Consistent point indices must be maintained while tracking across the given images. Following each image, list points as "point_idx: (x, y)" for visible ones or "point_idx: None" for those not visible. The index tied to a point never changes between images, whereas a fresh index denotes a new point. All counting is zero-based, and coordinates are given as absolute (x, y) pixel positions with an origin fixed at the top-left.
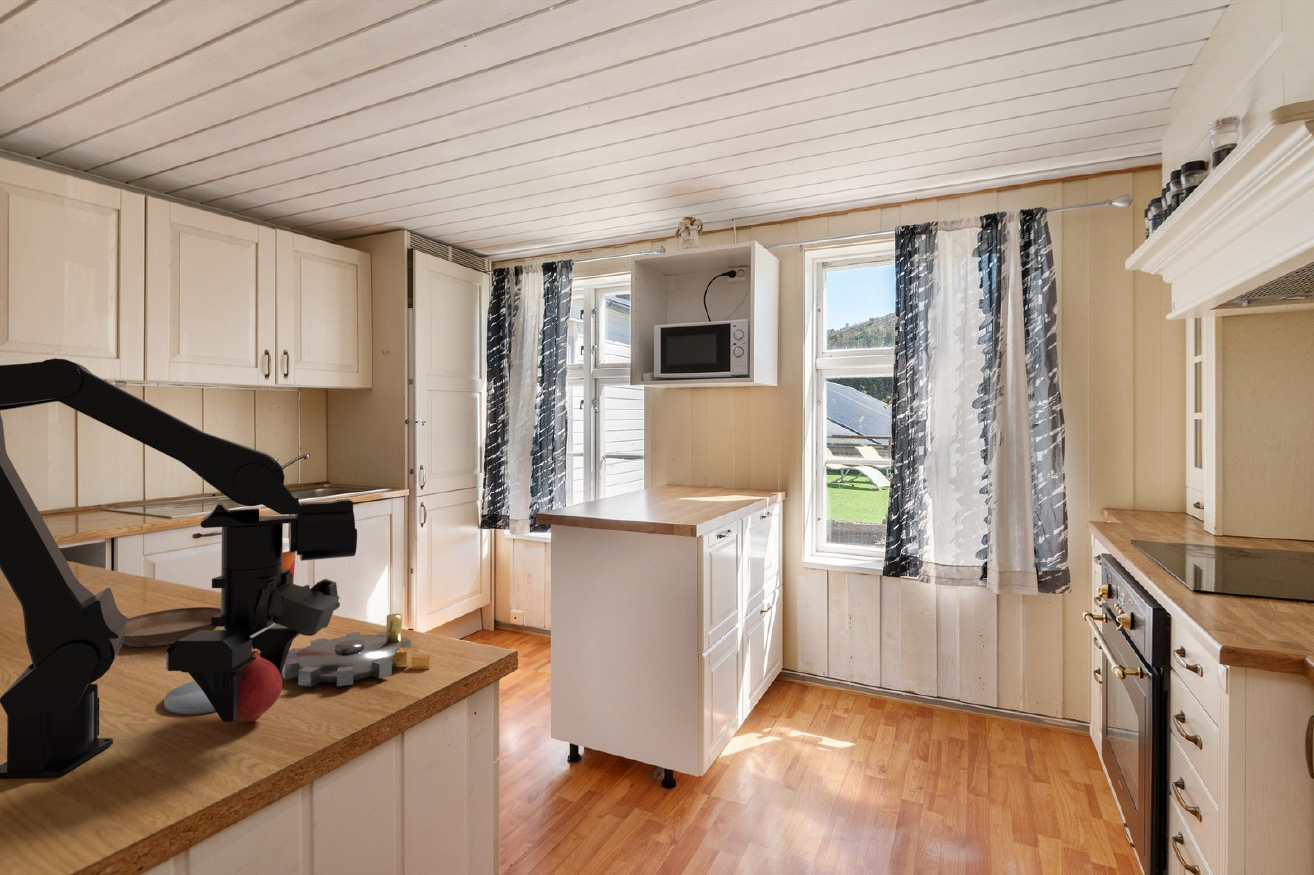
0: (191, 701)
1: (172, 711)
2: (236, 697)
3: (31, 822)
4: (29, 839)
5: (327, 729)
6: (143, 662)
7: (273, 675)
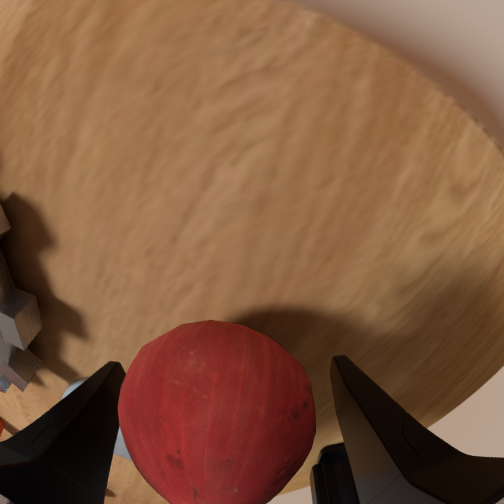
0: None
1: None
2: (380, 404)
3: (489, 373)
4: None
5: (255, 77)
6: None
7: (204, 412)
